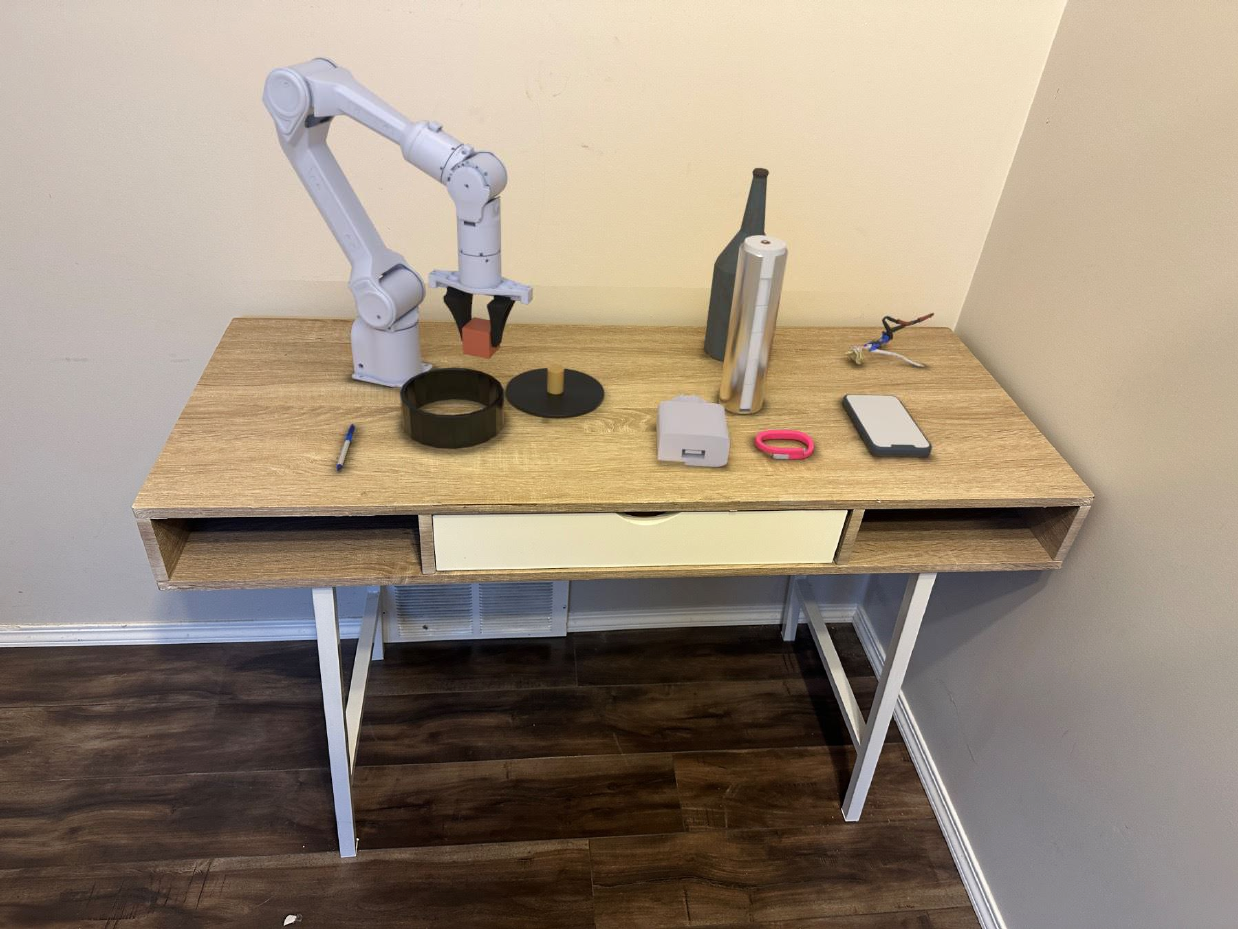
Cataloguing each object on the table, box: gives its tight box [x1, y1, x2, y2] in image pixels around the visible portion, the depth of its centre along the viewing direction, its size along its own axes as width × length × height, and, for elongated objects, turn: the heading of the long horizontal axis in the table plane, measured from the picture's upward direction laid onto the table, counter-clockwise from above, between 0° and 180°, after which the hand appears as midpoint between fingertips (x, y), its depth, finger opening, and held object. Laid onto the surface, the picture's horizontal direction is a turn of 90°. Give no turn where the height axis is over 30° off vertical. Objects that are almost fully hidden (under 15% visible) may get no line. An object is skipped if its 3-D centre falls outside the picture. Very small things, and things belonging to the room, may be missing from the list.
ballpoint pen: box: [336, 423, 356, 471], centre depth 117 cm, size 10×1×1 cm, turn 6°
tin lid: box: [505, 364, 605, 419], centre depth 131 cm, size 14×14×5 cm
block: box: [462, 316, 501, 360], centre depth 127 cm, size 4×4×4 cm
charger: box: [655, 392, 731, 468], centre depth 124 cm, size 5×9×15 cm
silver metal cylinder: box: [718, 235, 789, 415], centre depth 127 cm, size 6×6×25 cm
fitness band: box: [754, 429, 815, 460], centre depth 124 cm, size 8×6×2 cm
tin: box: [399, 367, 505, 450], centre depth 123 cm, size 14×14×5 cm
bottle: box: [703, 167, 770, 363], centre depth 140 cm, size 10×10×30 cm
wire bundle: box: [844, 312, 935, 368], centre depth 150 cm, size 10×9×20 cm
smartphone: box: [842, 393, 933, 457], centre depth 130 cm, size 9×2×16 cm
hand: (481, 341), depth 127 cm, fingers closed on block, 4 cm apart
